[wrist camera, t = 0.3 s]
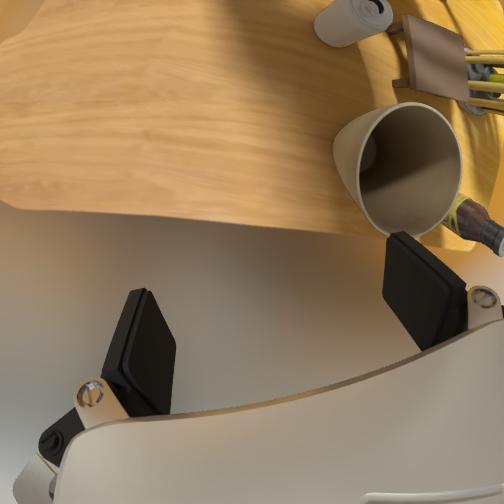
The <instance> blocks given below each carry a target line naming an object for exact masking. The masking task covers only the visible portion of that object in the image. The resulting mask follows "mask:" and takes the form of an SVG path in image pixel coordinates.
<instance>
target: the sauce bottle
mask: <svg viewBox="0 0 504 504" xmlns="http://www.w3.org/2000/svg"><path fill="white" fill-rule="evenodd" d="M440 223H441V224H442V225H444V226H445V227H447V228H448V229H450V230H451V231H453V232H454V233H455V234H457V235H458V236H460V237H461V238H463V239H465V240H471V241H476V242H481V243H482V244H485V245H486V246H488V247H489V248H490V249H492V250H493V252H494V253H495V254H496V255H498V256H499V257H503V256H504V227H502V226H500V225H498V224H497V223H495V221H493V220H491V219H490V217H489V215H488V212H487V211H486V209H485V208H484V207H483V206H481V205H480V204H478V203H476V202H474V201H473V200H472V199H470V198H468V197H466V196H465V195H463V194H461V193H459V192H458V195H457V197H456V200H455V202H454V204H453V206H452V208H451V210H450V211H449V213H448V214H447V215H446V217H445V218H444V219H443V220H442V221H441V222H440Z"/></svg>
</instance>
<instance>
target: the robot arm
mask: <svg viewBox="0 0 504 504" xmlns="http://www.w3.org/2000/svg"><path fill="white" fill-rule="evenodd" d="M465 287H466V283H465V282H464V281H463V280H462V279H461V278H460V277H459V276H458V275H456V274H455V273H454V272H453V271H452V270H451V269H450V268H449V267H448V266H446V265H445V264H444V263H443V262H442V261H441V260H439V259H438V258H437V257H436V256H435V255H433V254H432V253H431V252H430V251H429V250H428V249H426V248H425V247H424V246H423V245H421V244H420V243H419V242H418V241H417V240H415V239H414V238H413V237H412V236H410V235H409V234H408V233H406V232H405V231H399V232H395V233H391V234H390V236H389V238H387V241H386V257H385V270H384V280H383V290H382V294H383V298H384V300H385V301H386V302H387V304H388V305H389V307H390V308H391V309H392V311H393V312H394V313H395V315H396V316H397V317H398V319H399V320H400V322H401V323H402V324H403V326H404V327H405V328H406V330H407V331H408V333H409V334H410V335H411V337H412V338H413V340H414V341H415V342H416V344H417V345H418V347H419V348H420V350H421V351H422V352H420V353H418V354H416V355H414V356H411V357H409V358H406V359H404V360H402V361H399V362H396V363H394V364H391V365H389V366H386V367H383V368H381V369H378V370H375V371H372V372H369V373H367V374H364V375H361V376H358V377H355V378H352V379H349V380H345V381H342V382H339V383H336V384H333V385H329V386H325V387H322V388H318V389H315V390H311V391H307V392H303V393H299V394H295V395H291V396H287V397H282V398H278V399H273V400H269V401H263V402H259V403H253V404H248V405H242V406H236V407H229V408H223V409H215V410H207V411H199V412H190V413H181V414H170V407H171V396H172V384H173V374H174V363H175V355H176V342H175V340H174V337H173V336H172V334H171V332H170V329H169V328H168V325H167V323H166V321H165V319H164V318H163V315H162V313H161V311H160V309H159V307H158V305H157V302H156V300H155V298H154V296H153V294H152V292H151V291H147V290H146V289H145V288H141V289H136V290H132V291H130V293H129V295H128V298H127V301H126V303H125V306H124V309H123V311H122V313H121V316H120V319H119V321H118V324H117V327H116V330H115V333H114V335H113V338H112V341H111V344H110V347H109V350H108V353H107V356H106V359H105V362H104V365H103V368H102V374H101V377H92V378H88V379H87V380H84V381H83V382H82V383H81V384H80V385H79V386H78V387H77V389H76V390H75V393H74V398H73V401H74V405H75V407H74V408H73V409H72V410H71V411H69V412H68V413H67V414H66V415H64V416H63V417H62V418H61V419H59V420H58V421H57V422H56V423H54V424H53V425H52V426H50V427H49V428H48V429H46V430H45V431H44V432H43V433H42V435H41V437H40V440H39V451H40V453H39V455H38V454H37V453H35V454H34V455H33V456H32V458H31V459H30V461H29V462H28V463H27V465H26V466H25V468H24V469H23V470H22V472H21V473H20V475H19V476H18V478H17V479H16V480H15V482H14V485H13V494H14V497H15V499H16V501H17V502H18V504H504V306H503V305H501V302H500V298H499V296H498V295H497V293H496V292H494V291H493V290H492V289H490V288H488V287H485V286H474V287H472V288H470V290H469V291H468V292H467V291H466V290H465Z"/></svg>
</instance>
